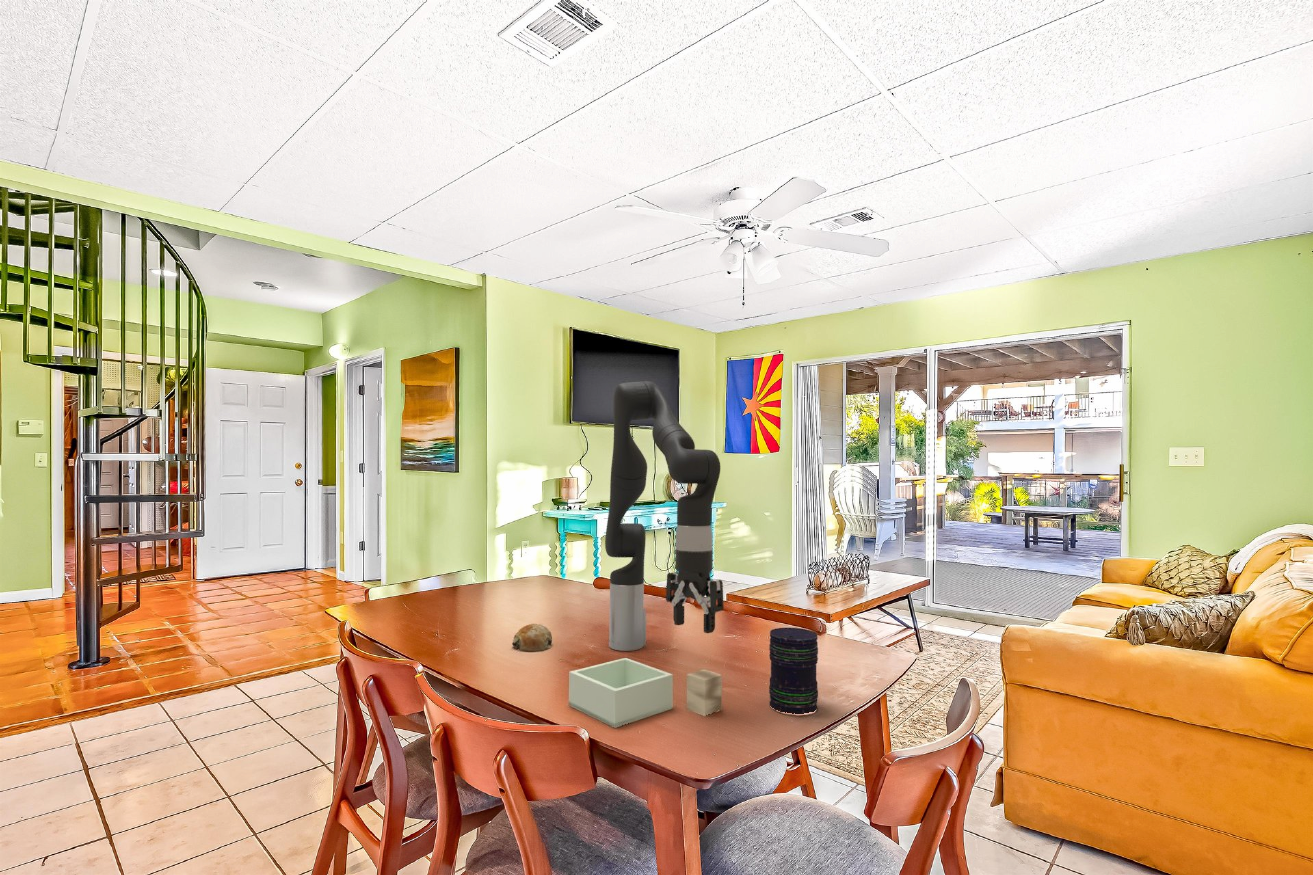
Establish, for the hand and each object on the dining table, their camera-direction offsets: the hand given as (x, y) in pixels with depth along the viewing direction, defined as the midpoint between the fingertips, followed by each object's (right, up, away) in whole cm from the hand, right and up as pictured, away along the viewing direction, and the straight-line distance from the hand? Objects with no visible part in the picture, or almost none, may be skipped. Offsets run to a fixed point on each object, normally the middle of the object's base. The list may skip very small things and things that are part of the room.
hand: (693, 628), depth 131 cm
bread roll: (-41, -18, +44) cm, 63 cm away
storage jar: (+21, -17, +2) cm, 27 cm away
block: (+2, -17, 0) cm, 17 cm away
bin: (-15, -16, +1) cm, 22 cm away
